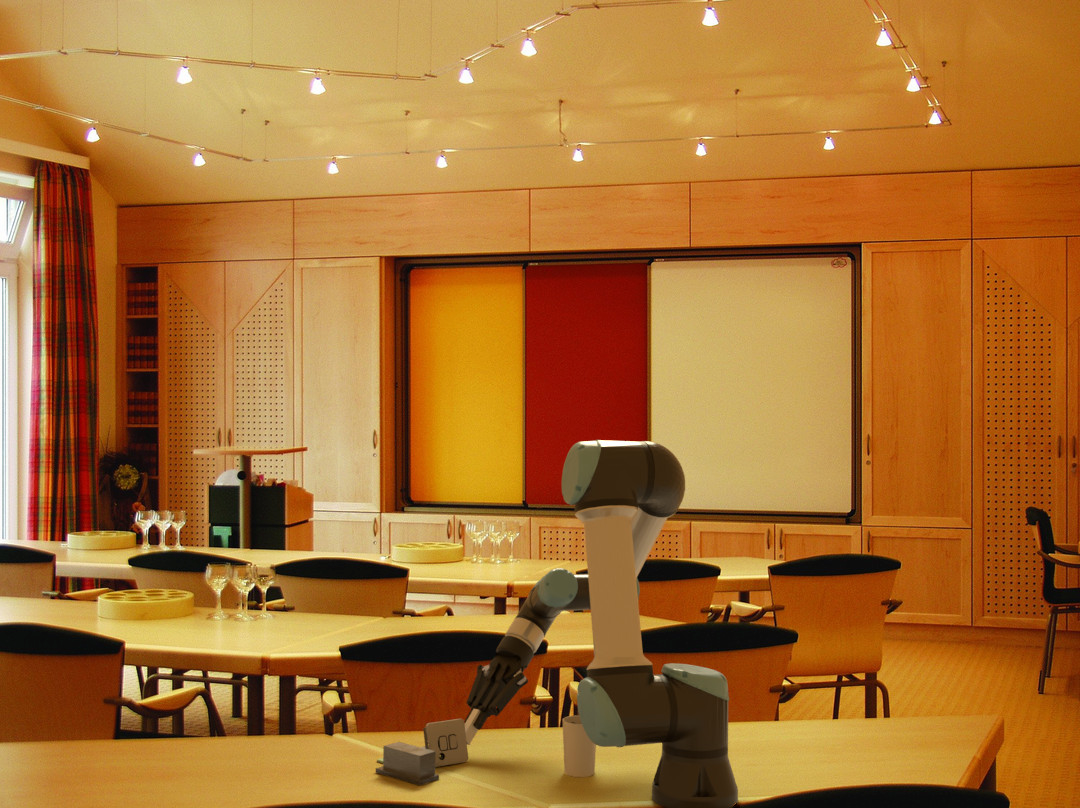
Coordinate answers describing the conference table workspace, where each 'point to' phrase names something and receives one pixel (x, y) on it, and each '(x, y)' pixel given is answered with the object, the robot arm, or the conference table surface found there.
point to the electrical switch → (447, 741)
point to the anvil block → (408, 763)
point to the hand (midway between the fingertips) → (463, 740)
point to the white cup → (577, 749)
